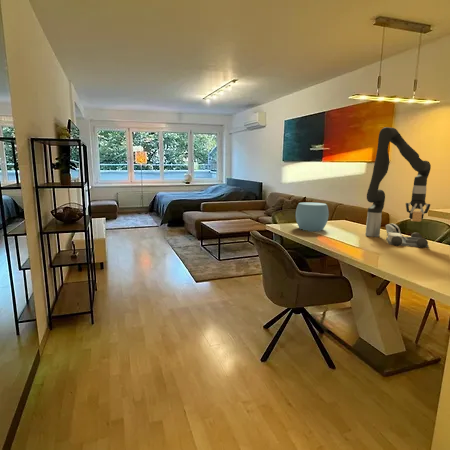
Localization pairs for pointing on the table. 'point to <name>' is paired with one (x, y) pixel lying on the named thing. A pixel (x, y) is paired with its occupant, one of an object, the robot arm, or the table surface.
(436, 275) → the table surface
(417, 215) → the block
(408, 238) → the chassis
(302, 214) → the planter
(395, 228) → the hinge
